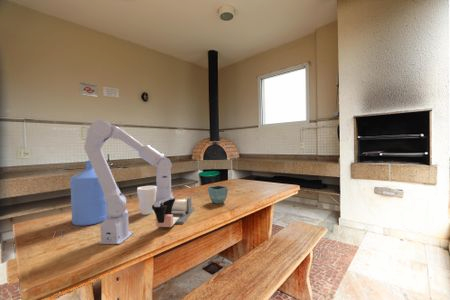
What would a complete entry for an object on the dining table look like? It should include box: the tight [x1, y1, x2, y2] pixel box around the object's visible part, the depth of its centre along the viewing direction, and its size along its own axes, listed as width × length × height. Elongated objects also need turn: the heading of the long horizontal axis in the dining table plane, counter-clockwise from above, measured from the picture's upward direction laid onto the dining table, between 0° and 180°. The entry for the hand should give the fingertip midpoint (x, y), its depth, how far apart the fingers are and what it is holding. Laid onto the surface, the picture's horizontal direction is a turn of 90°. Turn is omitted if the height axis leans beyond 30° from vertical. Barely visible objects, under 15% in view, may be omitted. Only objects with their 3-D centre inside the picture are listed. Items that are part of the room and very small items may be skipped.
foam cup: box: [136, 185, 157, 216], centre depth 106 cm, size 10×9×13 cm
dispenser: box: [171, 196, 195, 225], centre depth 101 cm, size 20×12×8 cm, turn 174°
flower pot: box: [207, 185, 229, 205], centre depth 122 cm, size 9×9×9 cm
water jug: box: [69, 160, 107, 227], centre depth 97 cm, size 16×16×28 cm
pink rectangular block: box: [156, 214, 179, 228], centre depth 89 cm, size 10×6×4 cm, turn 174°
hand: (164, 219), depth 85 cm, fingers open, 7 cm apart
